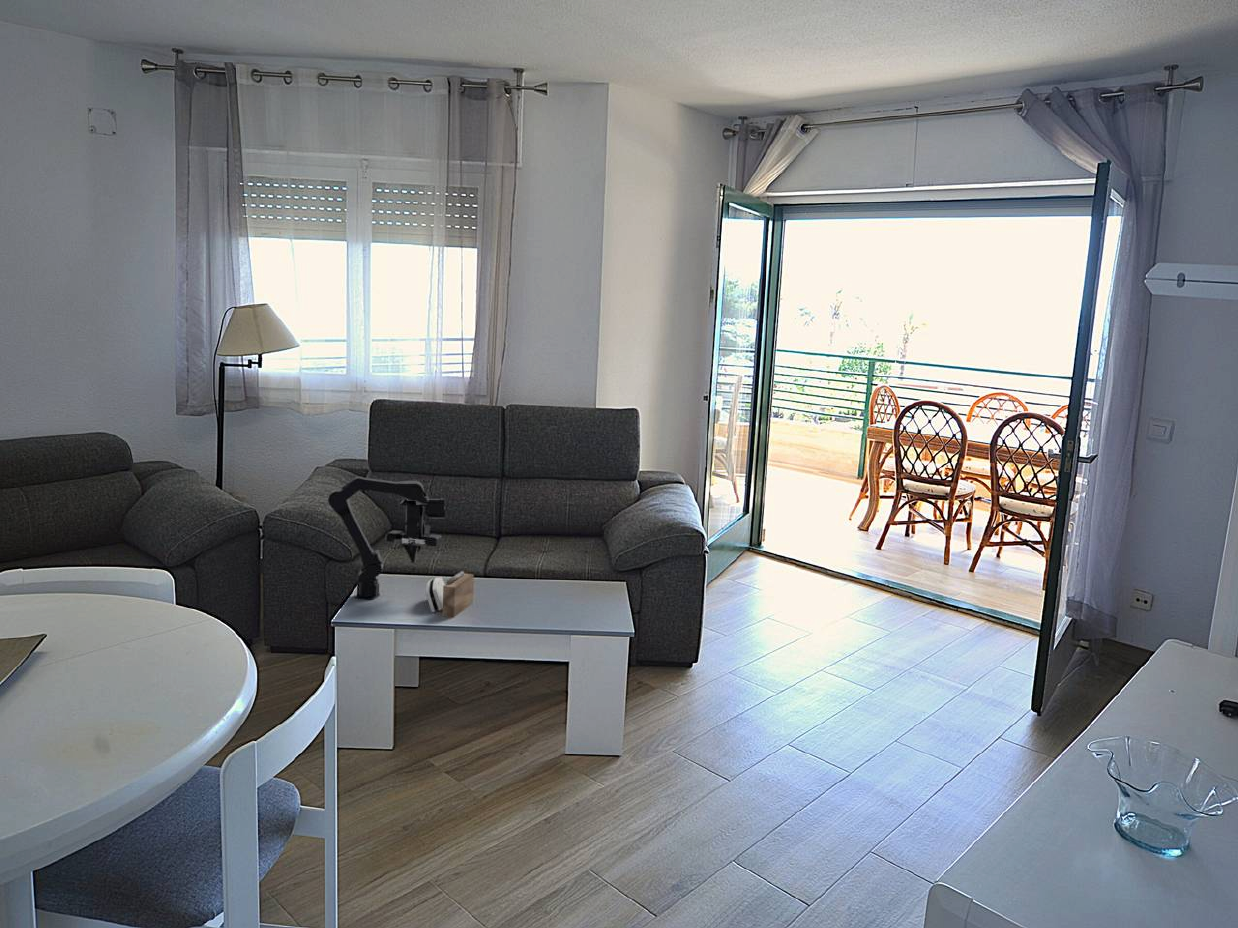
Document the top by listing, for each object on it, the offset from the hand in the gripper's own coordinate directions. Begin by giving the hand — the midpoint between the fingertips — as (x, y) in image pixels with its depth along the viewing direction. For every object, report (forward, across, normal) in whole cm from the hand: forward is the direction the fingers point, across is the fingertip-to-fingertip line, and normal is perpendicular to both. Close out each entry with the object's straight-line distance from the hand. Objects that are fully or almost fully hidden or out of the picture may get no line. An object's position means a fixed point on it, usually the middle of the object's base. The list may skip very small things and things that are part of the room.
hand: (413, 562), depth 322 cm
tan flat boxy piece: (+12, -19, +7) cm, 24 cm away
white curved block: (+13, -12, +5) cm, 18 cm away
